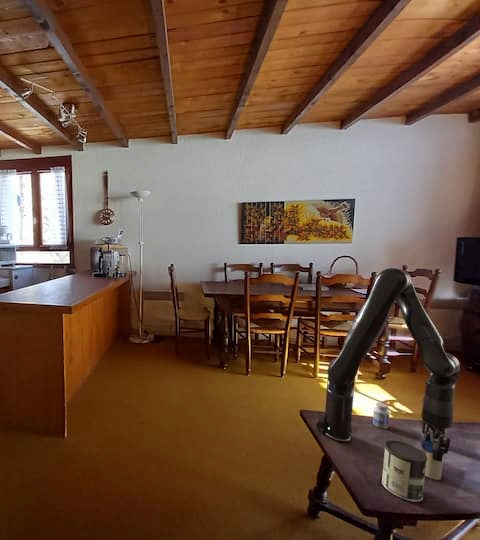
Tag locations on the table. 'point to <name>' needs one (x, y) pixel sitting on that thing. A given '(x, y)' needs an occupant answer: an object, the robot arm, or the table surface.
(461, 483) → the table surface
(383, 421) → the pill bottle
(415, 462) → the coffee can
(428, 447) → the lid
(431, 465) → the jar
